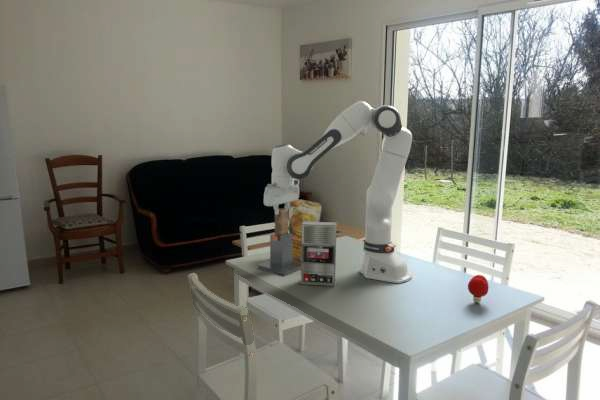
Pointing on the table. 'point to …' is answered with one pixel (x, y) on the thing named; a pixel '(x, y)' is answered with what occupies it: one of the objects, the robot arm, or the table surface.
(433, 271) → the table surface
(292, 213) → the pancake mix bag
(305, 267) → the cassette tape recorder
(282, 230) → the post
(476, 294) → the light bulb
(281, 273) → the stand
